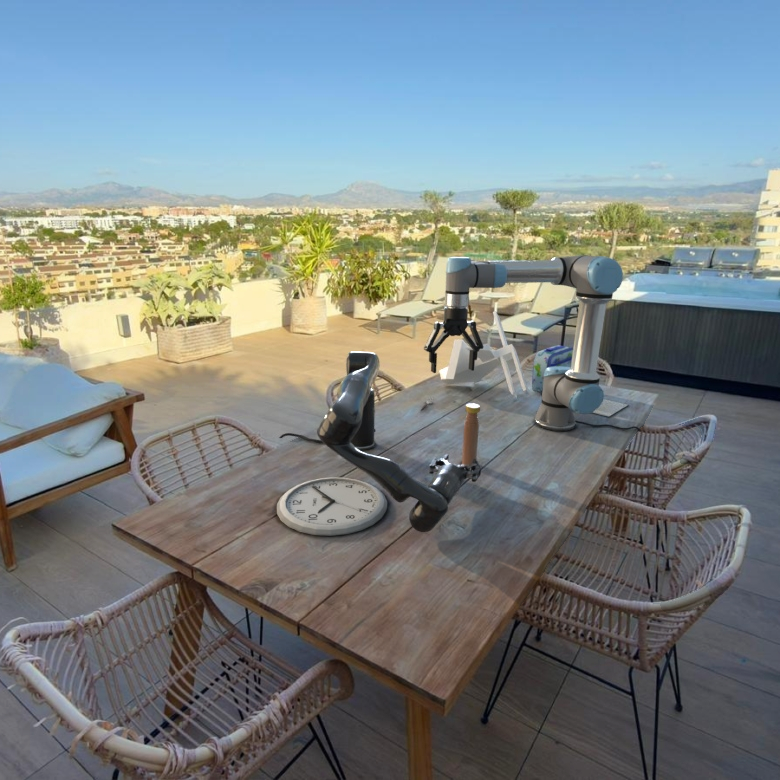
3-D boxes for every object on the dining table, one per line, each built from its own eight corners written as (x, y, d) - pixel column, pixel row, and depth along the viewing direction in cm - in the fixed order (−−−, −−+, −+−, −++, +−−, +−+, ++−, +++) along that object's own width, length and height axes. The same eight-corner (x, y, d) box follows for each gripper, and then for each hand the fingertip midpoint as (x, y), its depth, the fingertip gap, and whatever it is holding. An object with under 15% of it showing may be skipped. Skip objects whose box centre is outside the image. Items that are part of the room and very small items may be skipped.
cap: (471, 414, 161) (471, 408, 160) (462, 410, 164) (463, 404, 164) (482, 412, 163) (482, 406, 162) (473, 408, 166) (474, 402, 166)
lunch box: (548, 398, 236) (553, 353, 229) (527, 393, 243) (531, 349, 237) (575, 387, 253) (581, 344, 247) (555, 382, 260) (560, 341, 254)
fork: (417, 411, 216) (418, 406, 216) (428, 400, 231) (428, 395, 230) (423, 412, 215) (424, 407, 215) (434, 400, 230) (434, 396, 229)
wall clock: (392, 527, 129) (268, 531, 127) (391, 533, 130) (269, 537, 127) (383, 473, 158) (282, 475, 155) (383, 478, 158) (282, 480, 156)
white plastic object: (461, 429, 252) (437, 405, 227) (444, 352, 274) (420, 323, 250) (535, 404, 240) (518, 377, 215) (510, 326, 262) (492, 293, 237)
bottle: (467, 468, 166) (471, 410, 160) (458, 462, 170) (462, 405, 164) (478, 465, 168) (483, 407, 162) (470, 460, 172) (474, 403, 166)
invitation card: (608, 416, 214) (573, 407, 224) (608, 416, 214) (573, 408, 224) (628, 404, 229) (594, 396, 238) (628, 405, 229) (594, 397, 238)
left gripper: (473, 475, 139) (485, 451, 153) (422, 465, 144) (438, 444, 158) (471, 500, 141) (483, 475, 155) (421, 490, 146) (437, 466, 160)
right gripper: (486, 304, 174) (481, 365, 181) (415, 305, 167) (413, 370, 173) (496, 307, 167) (491, 371, 174) (423, 309, 160) (421, 376, 167)
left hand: (461, 459), depth 157 cm, fingers open, 8 cm apart
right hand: (452, 370), depth 174 cm, fingers open, 13 cm apart
